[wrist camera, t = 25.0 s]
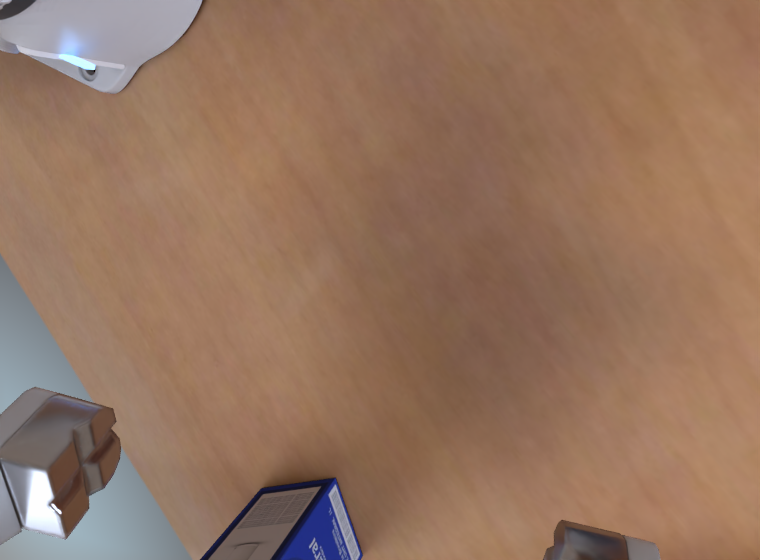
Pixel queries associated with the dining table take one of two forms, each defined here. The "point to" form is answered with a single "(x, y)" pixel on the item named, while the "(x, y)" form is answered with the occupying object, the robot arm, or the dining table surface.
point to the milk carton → (290, 526)
